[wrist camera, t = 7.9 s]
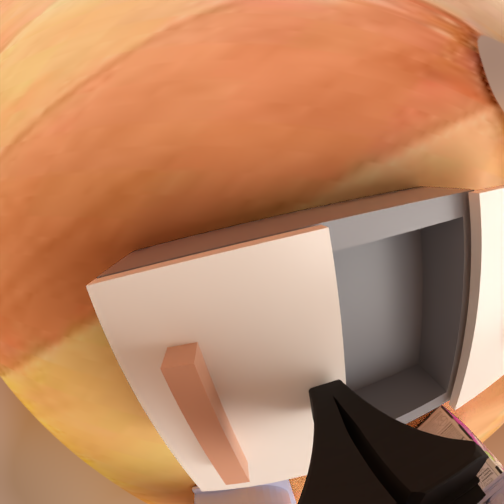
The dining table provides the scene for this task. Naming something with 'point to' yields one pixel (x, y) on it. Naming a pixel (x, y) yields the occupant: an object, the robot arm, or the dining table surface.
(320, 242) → the lid
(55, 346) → the dining table surface
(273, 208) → the dining table surface
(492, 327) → the lid
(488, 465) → the candy bar box
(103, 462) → the dining table surface
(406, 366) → the box
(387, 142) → the dining table surface
